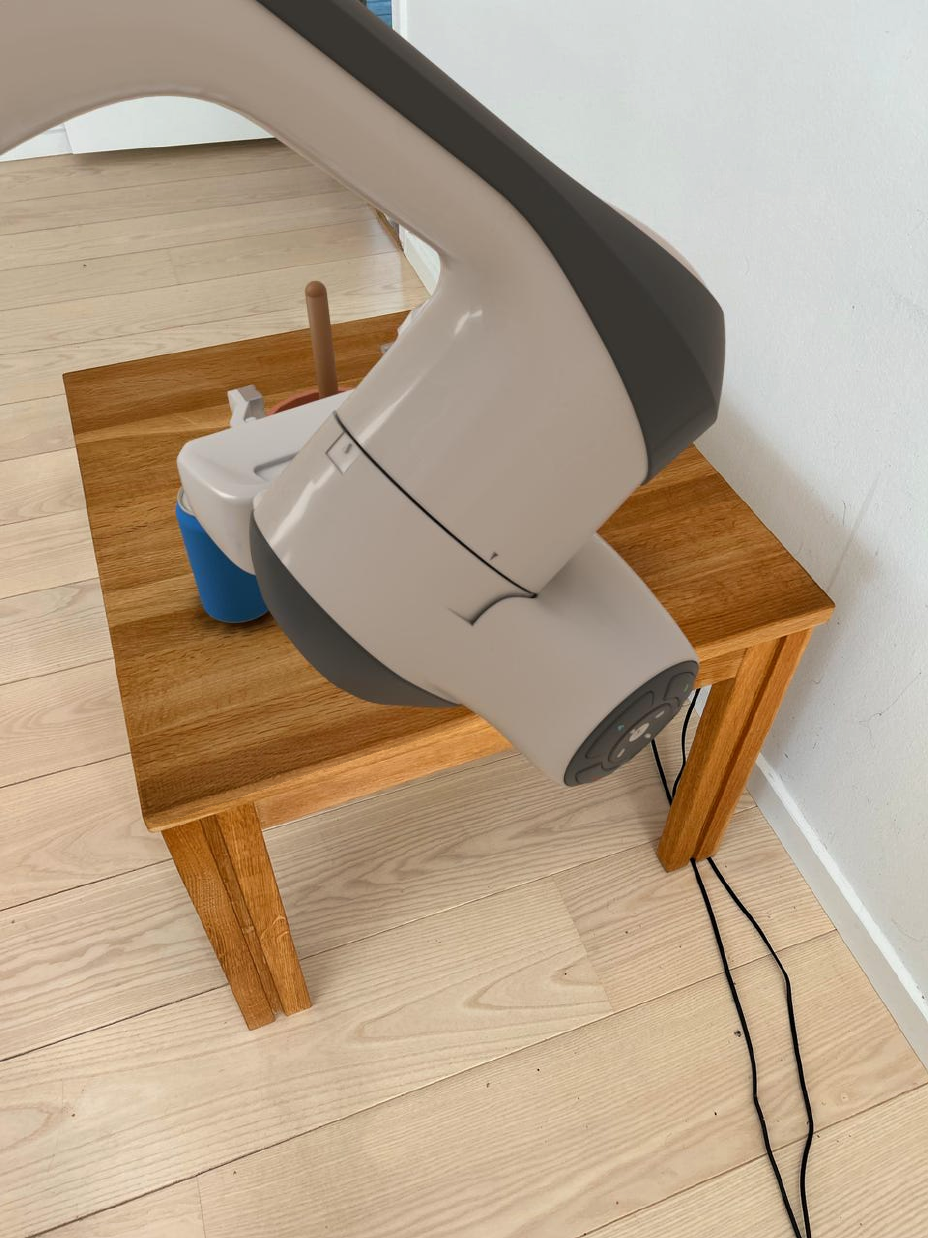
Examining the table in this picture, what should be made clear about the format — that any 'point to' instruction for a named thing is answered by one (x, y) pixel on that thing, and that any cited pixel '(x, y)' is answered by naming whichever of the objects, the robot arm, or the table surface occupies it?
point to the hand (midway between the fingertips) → (318, 374)
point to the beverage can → (217, 573)
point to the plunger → (321, 339)
